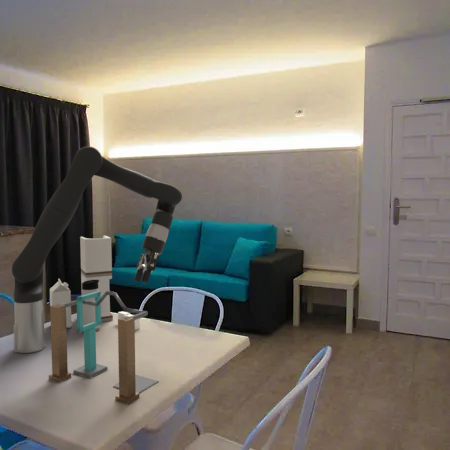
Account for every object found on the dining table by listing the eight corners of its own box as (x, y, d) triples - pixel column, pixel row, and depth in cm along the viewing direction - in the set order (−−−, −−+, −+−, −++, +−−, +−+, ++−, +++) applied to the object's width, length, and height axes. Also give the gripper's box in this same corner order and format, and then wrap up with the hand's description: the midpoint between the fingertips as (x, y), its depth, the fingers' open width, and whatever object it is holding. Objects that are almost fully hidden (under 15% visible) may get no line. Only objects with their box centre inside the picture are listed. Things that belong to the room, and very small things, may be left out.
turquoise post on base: (88, 379, 131) (86, 298, 129) (71, 374, 134) (69, 295, 132) (109, 369, 138) (107, 292, 136) (92, 364, 141) (90, 290, 139)
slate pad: (113, 386, 125) (113, 385, 125) (134, 375, 133) (134, 374, 133) (137, 394, 121) (137, 393, 121) (158, 381, 129) (158, 380, 129)
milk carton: (52, 330, 176) (51, 282, 174) (50, 325, 182) (49, 279, 180) (71, 327, 179) (70, 280, 177) (68, 322, 185) (67, 277, 184)
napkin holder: (145, 331, 176) (144, 317, 175) (115, 333, 173) (115, 319, 172) (141, 320, 190) (141, 307, 190) (114, 322, 187) (114, 309, 187)
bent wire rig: (48, 379, 130) (46, 292, 128) (77, 366, 139) (75, 285, 137) (128, 404, 115) (126, 306, 113) (154, 388, 124) (153, 297, 122)
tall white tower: (112, 320, 189) (111, 238, 186) (86, 323, 184) (84, 239, 181) (106, 313, 199) (105, 235, 196) (82, 316, 194) (80, 236, 192)
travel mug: (97, 332, 173) (96, 281, 171) (80, 332, 173) (79, 281, 171) (102, 327, 179) (101, 278, 177) (85, 327, 179) (84, 278, 177)
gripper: (140, 236, 166) (124, 278, 162) (152, 233, 153) (136, 278, 149) (158, 243, 169) (143, 284, 165) (172, 241, 156) (156, 285, 152)
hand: (140, 281), depth 157 cm, fingers open, 8 cm apart
